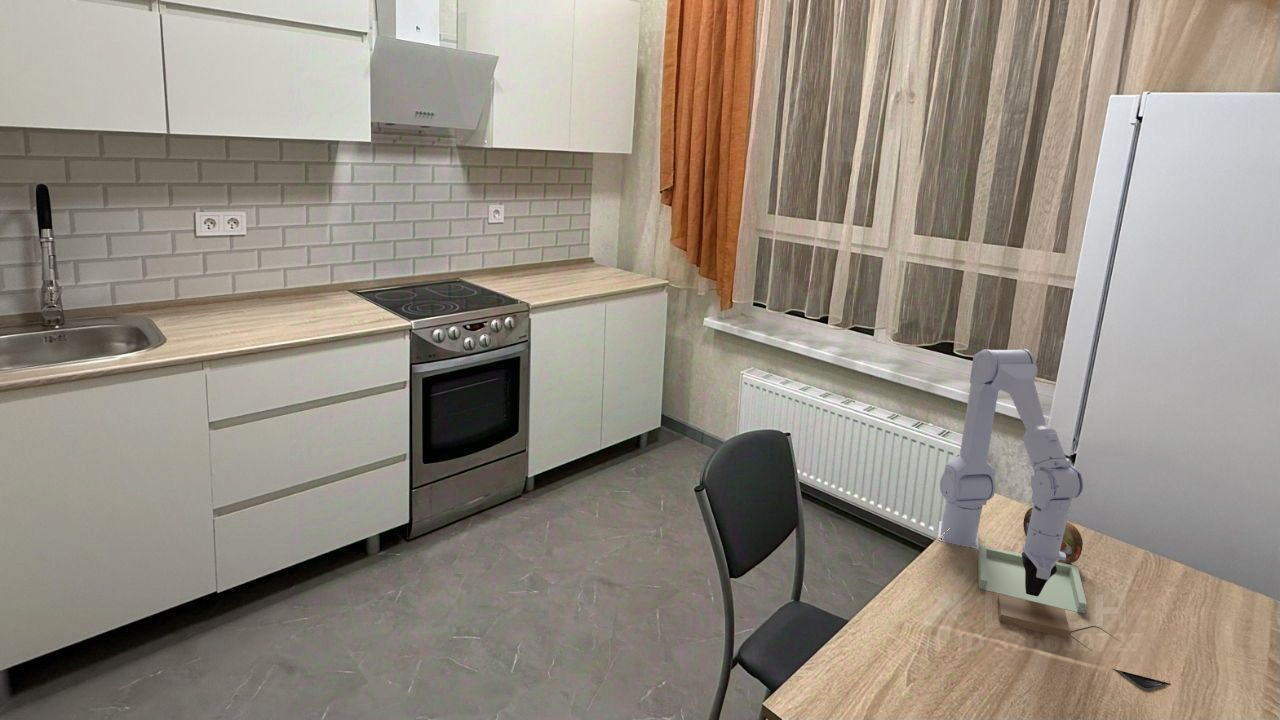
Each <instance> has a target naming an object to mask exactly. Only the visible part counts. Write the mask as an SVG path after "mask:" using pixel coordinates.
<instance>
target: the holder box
mask: <svg viewBox="0 0 1280 720" xmlns="http://www.w3.org/2000/svg"><path fill="white" fill-rule="evenodd" d="M977 560H978V561H977V562H978V564H977V565H978V566H977V569H978V570H977V571H978V573H977V574H978V576H977V577H978V589H979V590H983V591H988V592H991V593H995V594H998V595H999V594H1001V595H1006V596H1010V597H1015V598H1019V599H1023V600H1028V601H1032V602H1036V603H1041V604H1045V605H1050V606H1054V607H1058V608H1063V609H1065V611H1067V610H1068V611H1072V612H1075V613H1079V614H1086V613H1085V612H1086V609H1087V605H1088V603H1087V600H1086V599H1087V598H1086V595H1085V591H1084V586H1083V583H1082V580H1081V575H1080V571H1079V568H1078V567H1079V566H1076V565H1075V564H1074V565H1073V564H1071V563H1060V562H1058V561H1057V563H1056V565H1055V566H1056V568H1057V571H1056V573H1055V574H1054V575H1053V576H1051V577H1050V578H1049V580H1048V581H1047V582H1046V584H1045V585H1044V587H1043V589H1042V591H1041V593H1040V594H1039V596H1033V595H1029V594H1026V589H1025V568H1024V565H1023V560H1022V553H1019V552H1014V551H1009V550H1006V549H1001V548H996V547H991V546H987V545H983V544H982V545H981V544H978V549H977Z"/></svg>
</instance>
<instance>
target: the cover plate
mask: <svg viewBox="0 0 1280 720" xmlns="http://www.w3.org/2000/svg"><path fill="white" fill-rule="evenodd" d="M996 603H997V611H998V612H997V613H998V621H999V622H998V623H1002V624H1006V625H1011V626H1014V627H1018V628H1023V629H1027V630H1031V631H1036V632H1040V633H1044V634H1048V635H1051V636H1057V637H1061V638H1065V639H1069V636H1070V635H1069V633H1070V631H1071V629H1070V626H1069V621H1068V617H1067V614H1066V609H1063V608H1058V607H1054V606H1050V605H1045V604H1041V603H1037V602H1033V601H1028V600H1024V599H1020V598H1016V597H1012V596H1007V595H1003V594H999V593H998V595H997V601H996ZM1070 634H1071V633H1070Z"/></svg>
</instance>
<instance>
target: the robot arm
mask: <svg viewBox="0 0 1280 720" xmlns="http://www.w3.org/2000/svg"><path fill="white" fill-rule="evenodd" d="M1035 359H1036V358H1035V356H1034V354H1033V353H1032V351H1030V350H1029V349H1027V348H1021V349H987V348H986V349H981V350H980V351H978V352H977V353H975V354H974V355H973V357H972V364H971V371H970V377H969V383H970V387H969V391H968V392H969V394H968V400H967V405H966V412H965V417H964V419H965V420H964V426H963V432H962V438H961V445H960V449H959V450H960V451H959V455H958V456H956V457H955V458H953V459H952V460H950V461H949V462H947V463H946V464H945V468H944V472H943V473H942V475H941V477H940V481H939V489H940V493H941V495H942V496H943V498H944V500H945V506H944V510H943V514H942V515H943V516H942V521H941V520H939V522H938V534H937V535H938V536H937V539H938V538H939V537H940V536H941V535H942V534H943V533H944V532H945V534H943V536H944V538H943V536H942V537H941V538H943V539H942V540H941V538H939V540H941V541H940V542H942V541H943V543H946V542H947V544H951V543H952V544H951V545H955V544H956V545H955V546H960V545H961V547H964V546H967V547H966V548H969V547H972V548H971V549H973V548H974V549H973V550H978V549H979V526H980V521H981V516H982V511H983V506H986V505H987V501H990V500H991V499H992V498H994V495H995V493H996V489H997V488H996V486H997V485H996V482H995V481H996V480H995V477H996V476H995V475H996V470H995V468H994V467H993V466H992V465H991V464H990V463H989V462H988V456H989V451H990V450H989V449H990V443H991V437H992V430H993V427H994V420H995V414H996V409H997V408H996V407H997V402H998V395H999V391H1002V392H1004V393H1007V394H1009V396H1010V398H1011V401H1012V402H1013V405H1014V407H1015V409H1016V411H1017V412H1018V416H1019V417H1020V419H1021V421H1022V423H1023V426H1024V428H1025V432H1024V434H1023V436H1022V441H1023V445H1024V448H1025V450H1026V454H1027V456H1028V458H1029V461H1030V464H1031V467H1032V470H1033V472H1034V474H1033V476H1032V475H1031V476H1030V487H1031V491H1032V494H1031V500H1032V501H1031V502H1032V504H1033V506H1032V508H1033V509H1032V514H1031V518H1030V523H1029V527H1028V532H1027V537H1026V536H1025V542H1024V544H1023V546H1022V551H1023V552H1021V554H1022V560H1023V565H1024V568H1025V589H1026V594H1029V595H1033V596H1039V594H1040V593H1041V591H1042V589H1043V587H1044V585H1045V584H1046V582H1047V581H1048V580H1049V578H1050V577H1051V576H1053V575H1054V574H1055V573H1056V571H1057V568H1056V566H1055V565H1056V563H1057V562H1058V560H1066V554H1065V553H1064V552H1060V548H1061V544H1062V540H1063V535H1064V531H1065V527H1066V523H1067V522H1068V519H1069V513H1070V510H1071V505H1072V501H1073V499H1075V498H1076V499H1077V498H1078V497H1080V495H1082V493H1083V489H1084V480H1083V476H1082V473H1081V472H1080V470H1079V469H1078V468H1077V467H1075V466H1074V465H1073V463H1072V462H1071V461H1070V460H1068V459H1067V457H1066V454H1065V452H1064V450H1063V447H1062V444H1061V441H1060V439H1059V436H1058V434H1057V431H1056V429H1054V428H1052V427H1051V426H1048V425H1047V423H1046V420H1045V416H1044V411H1043V409H1042V408H1043V407H1042V406H1041V401H1040V397H1039V394H1038V391H1037V388H1036V385H1035V380H1036V378H1037V375H1038V371H1039V370H1038V366H1037V365H1036V360H1035ZM949 528H950V529H949ZM948 529H949V530H948ZM947 530H948V531H947ZM939 540H938V541H939ZM962 545H963V546H962ZM976 546H977V547H976Z"/></svg>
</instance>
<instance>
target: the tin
mask: <svg viewBox="0 0 1280 720" xmlns="http://www.w3.org/2000/svg"><path fill="white" fill-rule="evenodd" d="M1032 509H1033V507H1031V508H1029V509H1028V510H1027V511H1026V513H1025V515H1024V517H1023V523H1022V524H1023V525H1022V526H1023V530H1024V531H1023V532H1024V535H1025V538H1026V537H1027V532H1028V527H1029V523H1030V518H1031V514H1032ZM1083 542H1084V541H1083V537H1082V535H1081V533H1080V530H1078V528H1077V527H1075V525H1074V524H1072V523H1070V522H1069V521H1067V523H1066V527H1065V531H1064V535H1063V540H1062V544H1061V548H1060V552H1064V553H1065V554H1066V560H1058V561H1057V562H1060V563H1065V564H1072V563H1076V562H1077V561H1078V560H1079V559H1080V557H1081V554H1082V552H1083V545H1084V543H1083Z"/></svg>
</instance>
